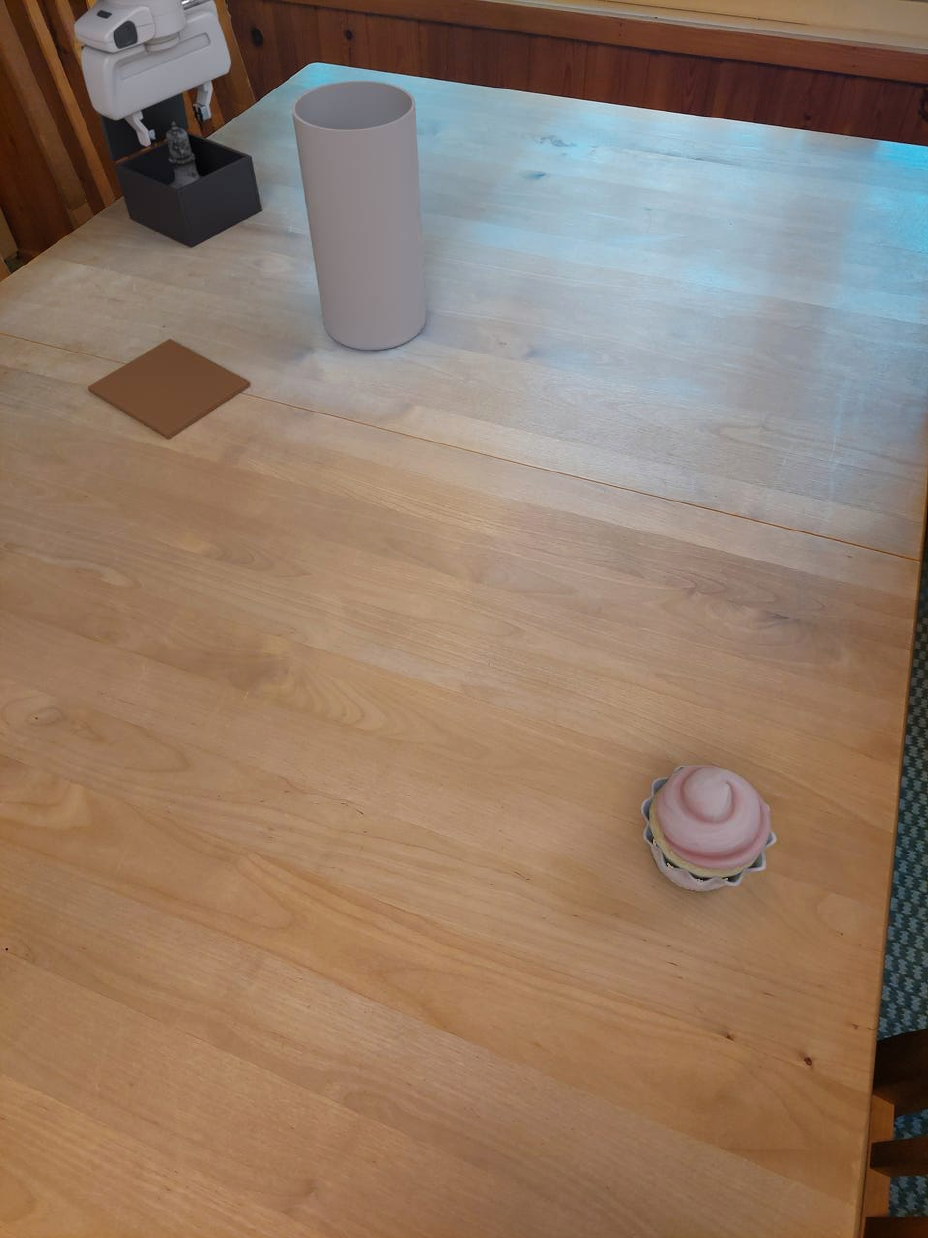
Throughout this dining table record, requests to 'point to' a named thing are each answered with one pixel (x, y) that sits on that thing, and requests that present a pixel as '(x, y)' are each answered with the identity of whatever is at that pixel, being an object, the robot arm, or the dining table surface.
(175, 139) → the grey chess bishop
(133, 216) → the dark open-top box
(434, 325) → the dining table surface
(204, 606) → the dining table surface
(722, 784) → the cupcake
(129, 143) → the dark hinged lid
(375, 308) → the cylinder vase
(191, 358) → the cork mat
